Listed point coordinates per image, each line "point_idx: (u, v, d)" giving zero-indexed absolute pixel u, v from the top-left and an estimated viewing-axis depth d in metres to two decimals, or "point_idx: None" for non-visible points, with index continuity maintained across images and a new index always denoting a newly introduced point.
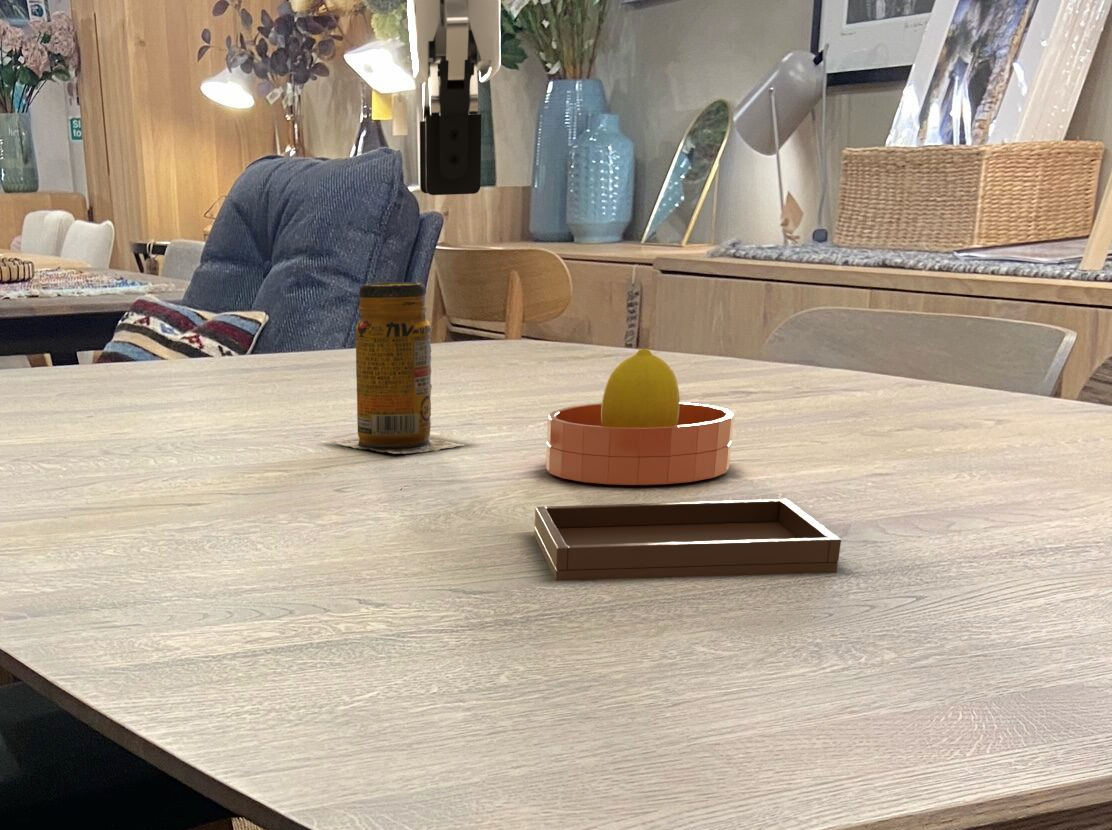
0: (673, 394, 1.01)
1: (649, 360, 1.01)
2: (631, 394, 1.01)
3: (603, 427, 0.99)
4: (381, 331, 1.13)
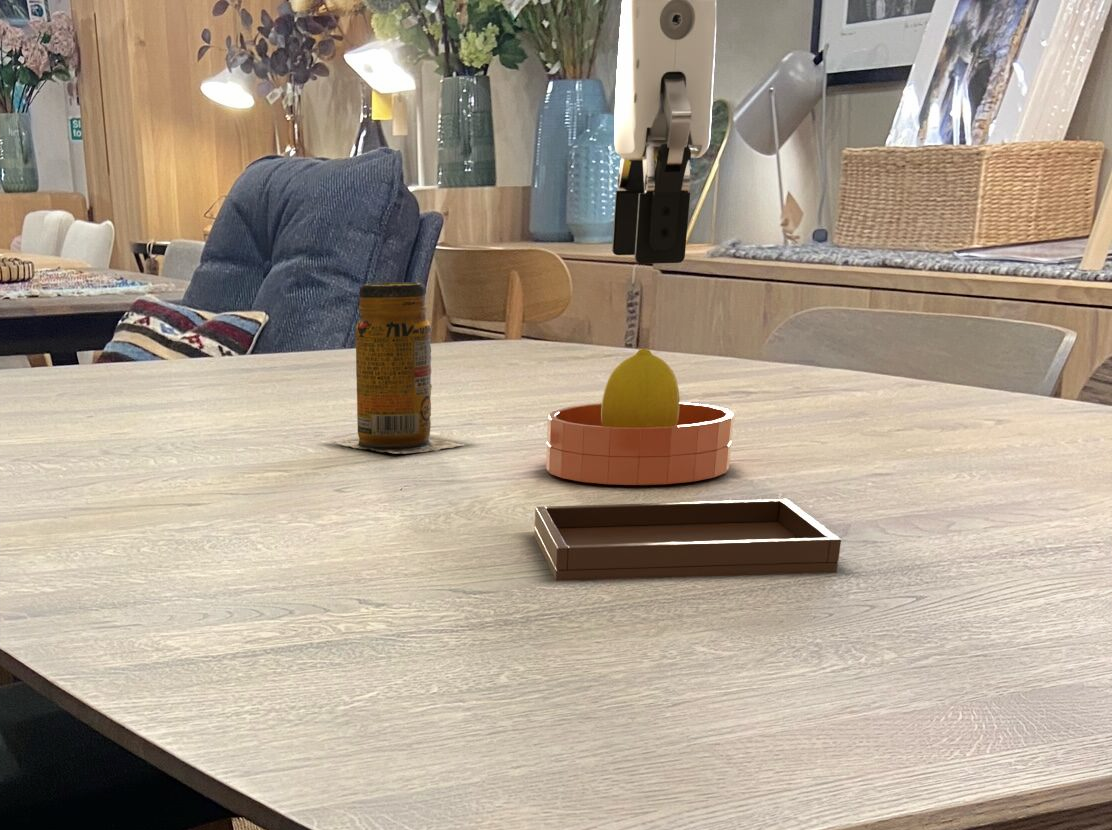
0: (673, 394, 1.01)
1: (649, 360, 1.01)
2: (631, 394, 1.01)
3: (603, 427, 0.99)
4: (381, 331, 1.13)
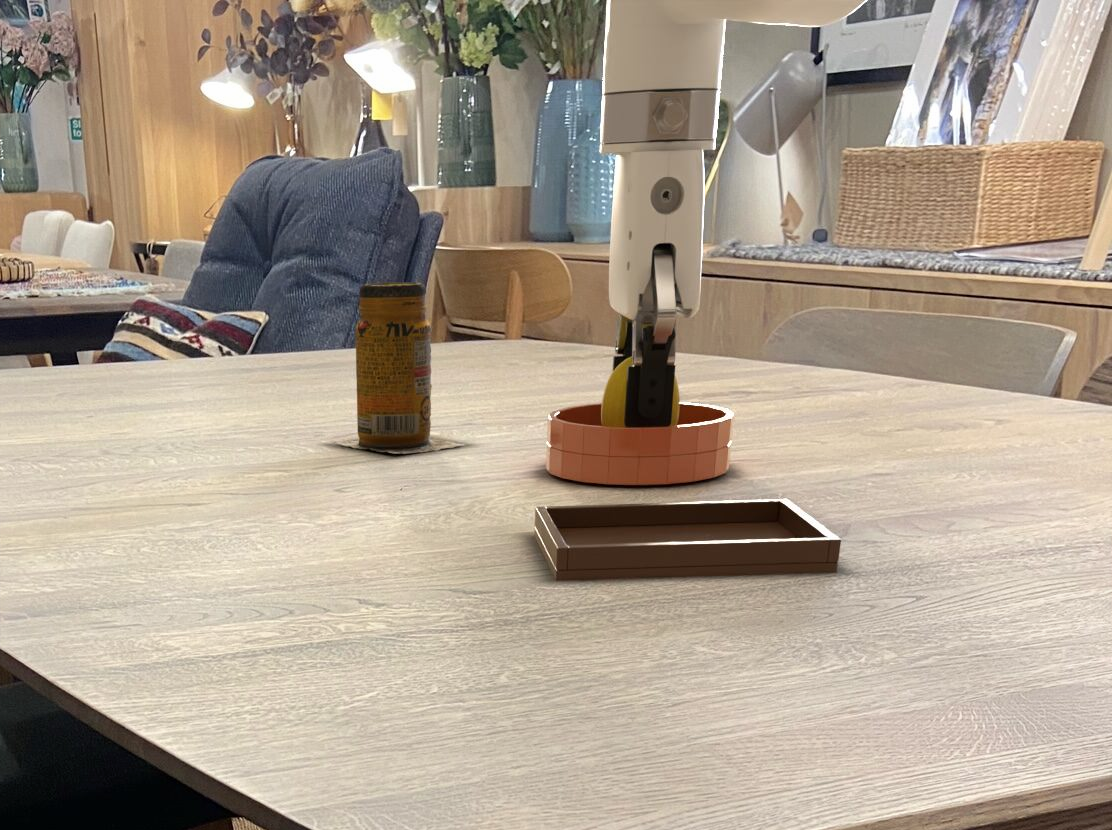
0: (673, 394, 1.01)
1: None
2: None
3: (603, 427, 0.99)
4: (381, 331, 1.13)
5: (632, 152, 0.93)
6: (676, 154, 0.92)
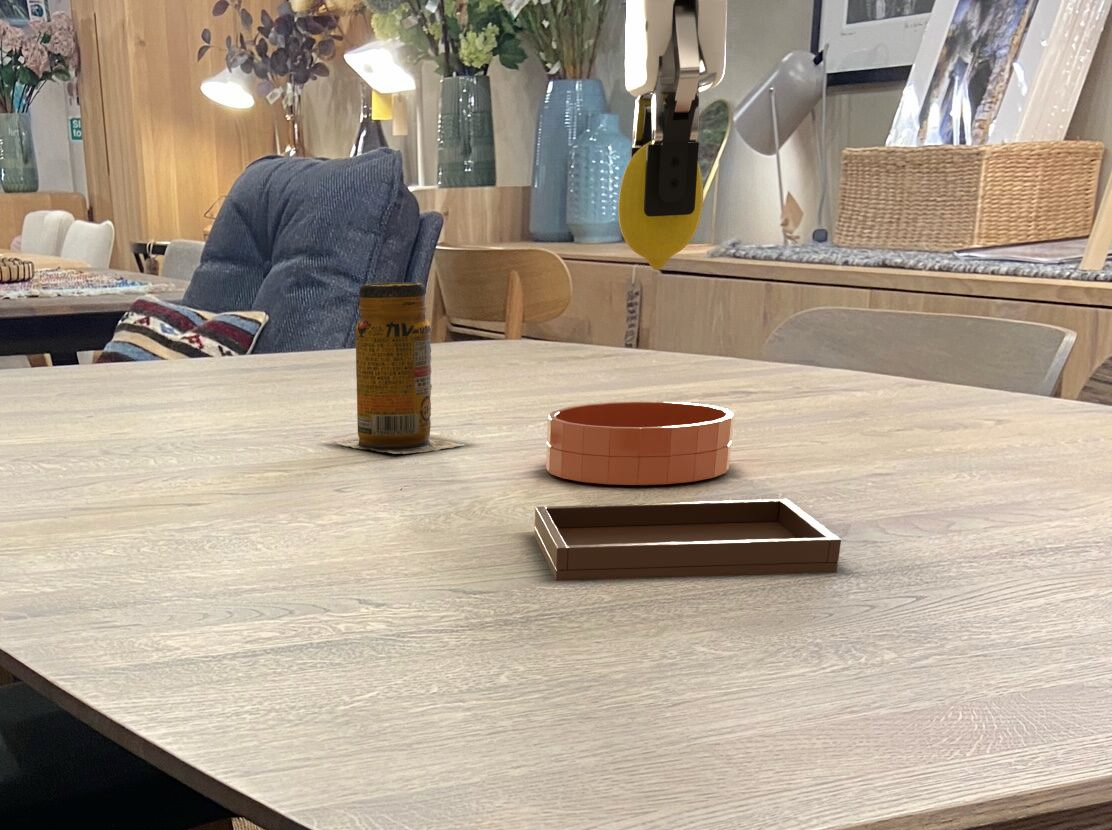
0: (697, 179, 0.94)
1: None
2: None
3: (603, 427, 0.99)
4: (381, 331, 1.13)
5: None
6: None
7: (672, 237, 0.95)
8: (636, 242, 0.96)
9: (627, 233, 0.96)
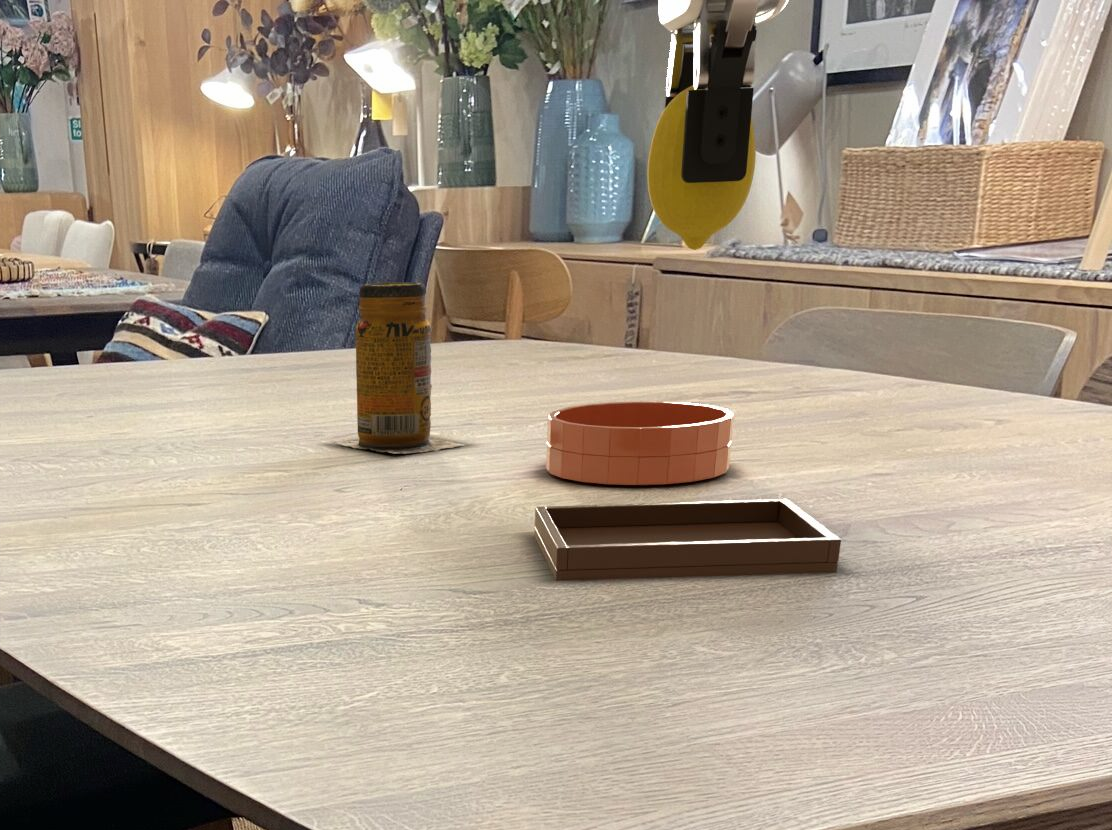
0: None
1: None
2: None
3: (603, 427, 0.99)
4: (381, 331, 1.13)
5: None
6: None
7: (715, 210, 0.75)
8: (670, 216, 0.76)
9: (658, 204, 0.76)
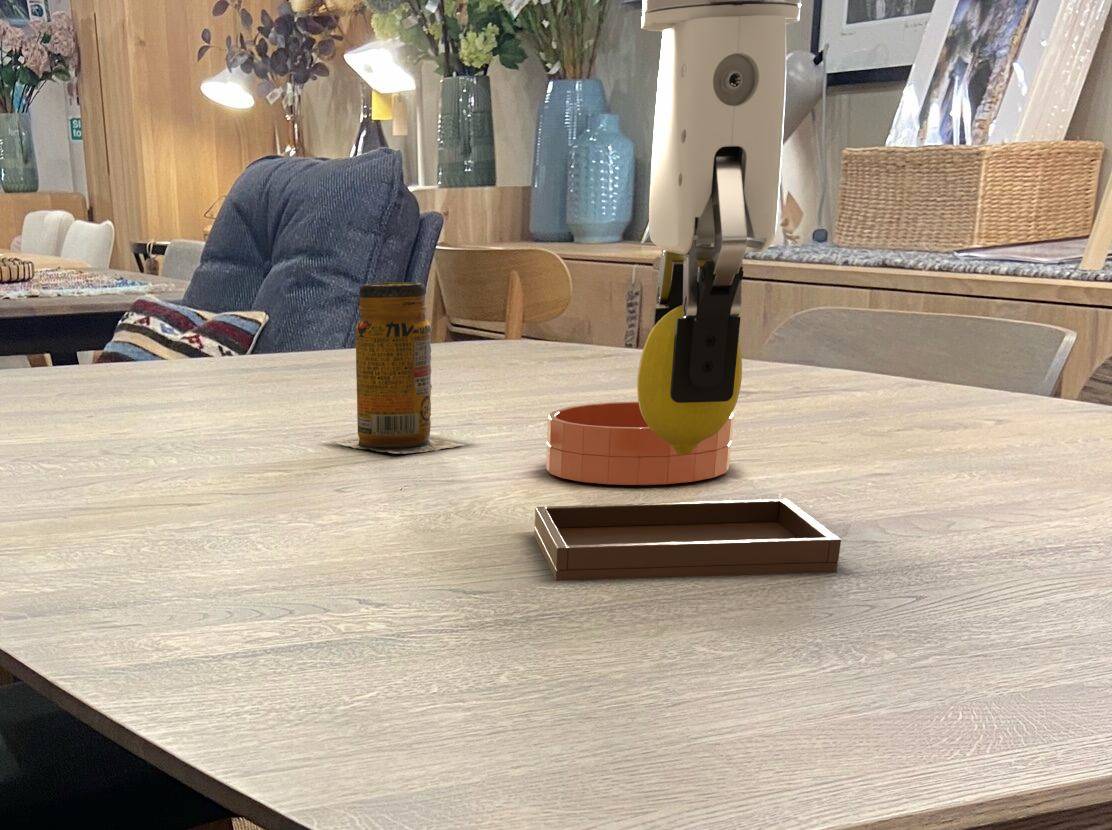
0: None
1: None
2: None
3: (603, 427, 0.99)
4: (381, 331, 1.13)
5: (688, 20, 0.68)
6: (749, 21, 0.66)
7: (702, 424, 0.77)
8: (659, 427, 0.78)
9: (647, 415, 0.78)
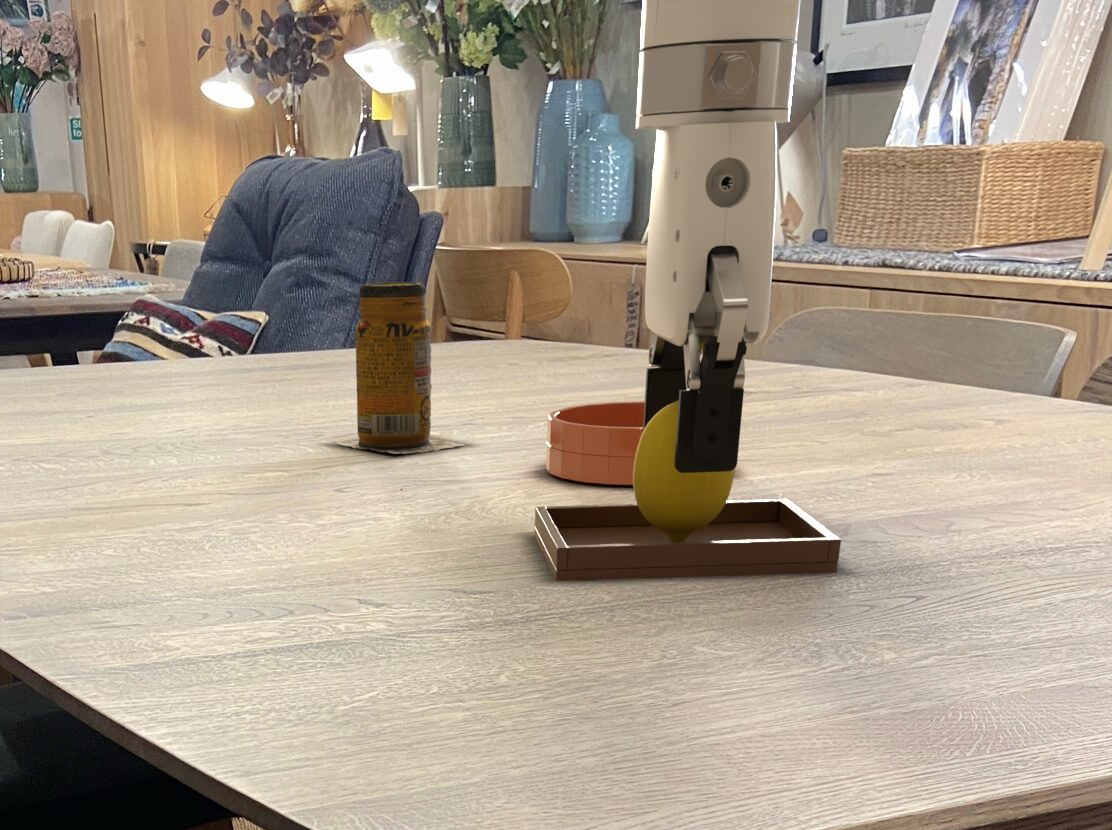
0: None
1: None
2: (673, 452, 0.78)
3: (603, 427, 0.99)
4: (381, 331, 1.13)
5: (681, 125, 0.70)
6: (740, 127, 0.69)
7: (696, 516, 0.80)
8: (654, 518, 0.81)
9: (643, 506, 0.81)
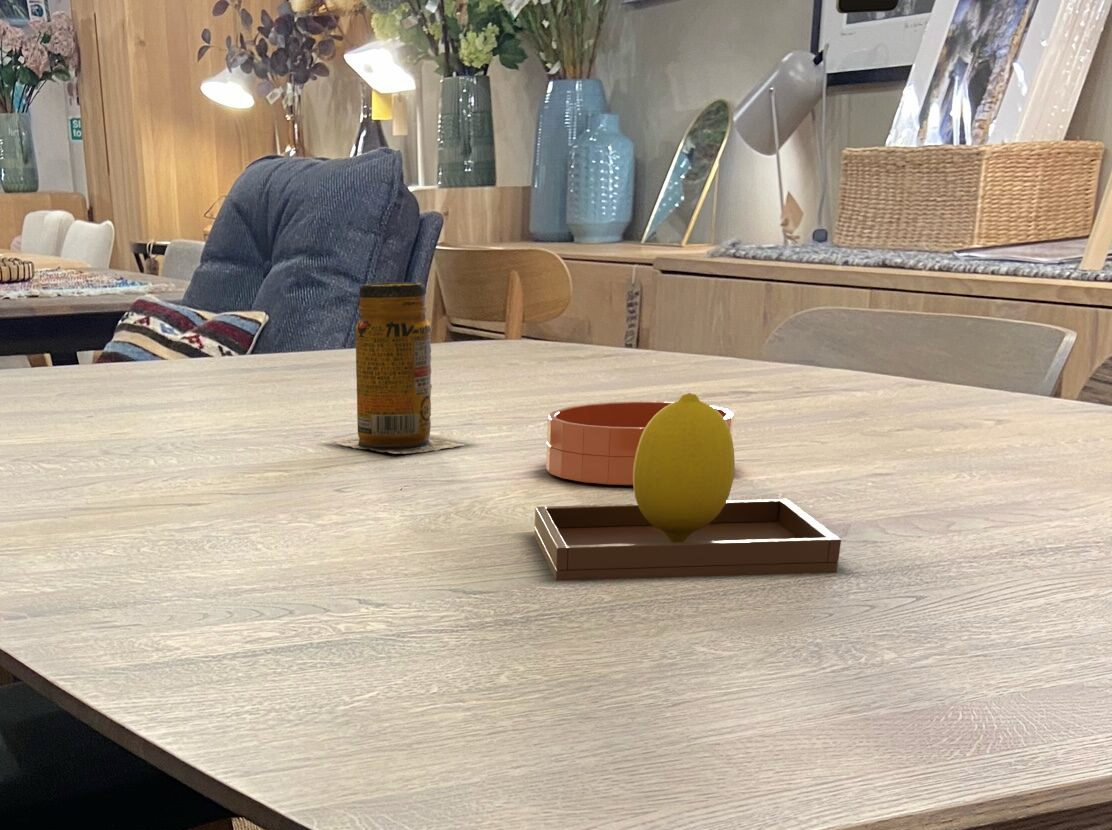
0: (727, 451, 0.79)
1: (696, 408, 0.78)
2: (673, 452, 0.78)
3: (603, 427, 0.99)
4: (381, 331, 1.13)
5: None
6: None
7: (696, 516, 0.80)
8: (654, 518, 0.81)
9: (643, 506, 0.81)
